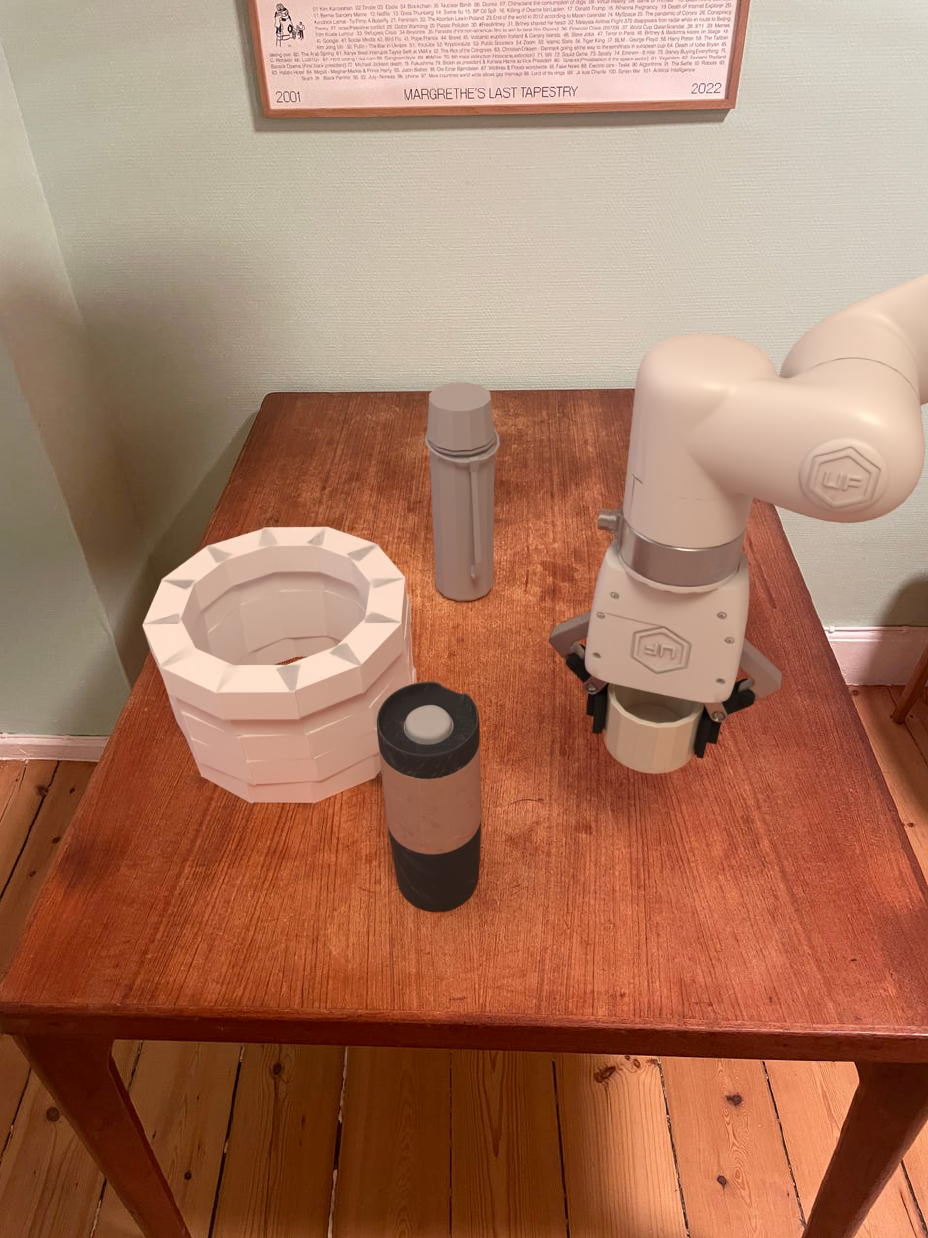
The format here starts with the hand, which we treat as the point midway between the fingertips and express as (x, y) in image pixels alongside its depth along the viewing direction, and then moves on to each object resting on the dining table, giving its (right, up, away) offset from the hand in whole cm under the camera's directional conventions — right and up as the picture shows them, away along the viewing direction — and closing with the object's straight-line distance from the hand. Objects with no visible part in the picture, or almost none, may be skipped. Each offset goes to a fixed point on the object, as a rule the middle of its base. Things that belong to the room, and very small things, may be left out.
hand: (650, 731), depth 67 cm
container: (-31, -2, +25) cm, 40 cm away
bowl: (0, -1, +1) cm, 1 cm away
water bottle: (-14, +12, +40) cm, 44 cm away
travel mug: (-16, -14, +10) cm, 24 cm away
